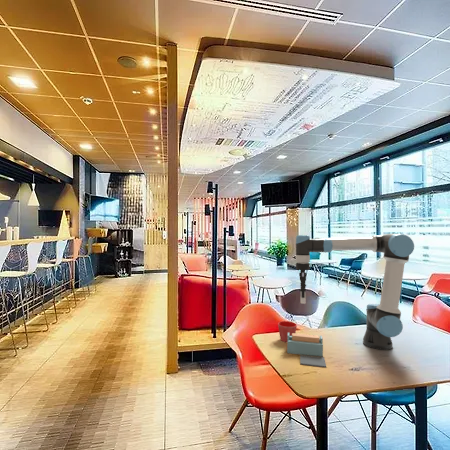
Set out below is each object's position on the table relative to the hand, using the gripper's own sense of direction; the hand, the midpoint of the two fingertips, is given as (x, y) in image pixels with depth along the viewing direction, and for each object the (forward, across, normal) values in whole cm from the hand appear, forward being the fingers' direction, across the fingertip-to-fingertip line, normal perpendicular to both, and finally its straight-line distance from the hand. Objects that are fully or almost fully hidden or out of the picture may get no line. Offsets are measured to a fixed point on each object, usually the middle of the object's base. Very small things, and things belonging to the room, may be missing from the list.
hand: (302, 300), depth 165 cm
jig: (+26, +6, +1) cm, 27 cm away
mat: (+26, +17, +4) cm, 31 cm away
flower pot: (+26, -9, -9) cm, 29 cm away
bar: (+22, +6, +1) cm, 22 cm away
